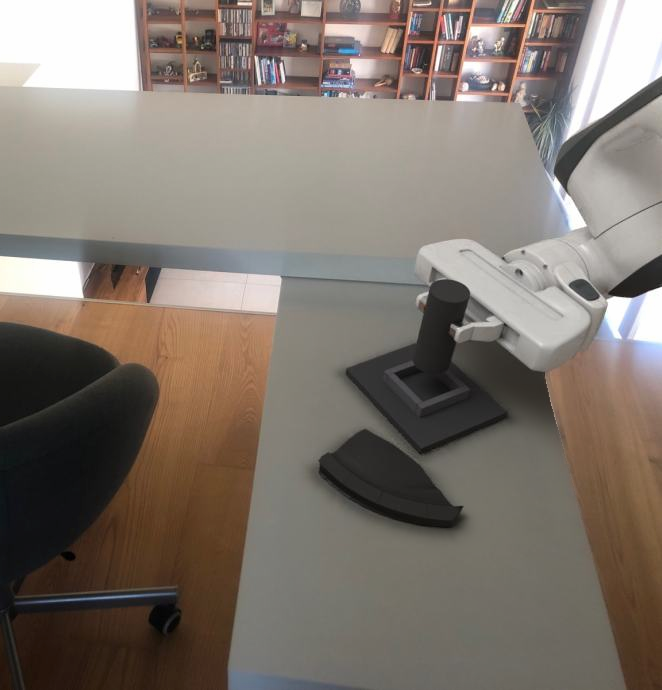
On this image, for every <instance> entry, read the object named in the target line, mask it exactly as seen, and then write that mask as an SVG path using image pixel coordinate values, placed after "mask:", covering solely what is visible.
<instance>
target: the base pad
mask: <svg viewBox="0 0 662 690" xmlns="http://www.w3.org/2000/svg"><path fill="white" fill-rule="evenodd" d="M416 343H417V342H415V343H412V344H409V345H406V346H404V347H401V348H398V349H395V350H393V351H390V352H387V353H384V354H381V355H379V356H376V357H373V358H371V359H368V360H365V361H363V362H359V363H356V364H354V365H352V366H348V367H346V369H345V375H346V376H347V378H349V380H350V381H351V382H352V384H354V385H355V386H356V387H357V388H358V389H359V390H360V392H362V394H363V395H364V396H365V397H366V398H367V399H368V400H369V401H370V402H371V403H372V404H373V405H374V406H375V408H376V409H377V410H378V411H379V413H381V414H382V415H383V416H384V418H386V420H387V421H388V422H389V423H390V424H391V425H392V426H393V427H394V428H395V429H396V430H397V431H398V433H400V435H401V436H402V437H403V438H404V439H405V440H406V441H407V442H408V443H409V444H410V445H411V446H412V448H413V449H414V451H416V452H417V453H418V454H419V455H421V454H424V453H426V452H429V451H430V450H431V451H432V450H433V449H436V448H438V447H440V446H443V445H445V444H447V443H451V442H452V441H454V440H456V439H459V438H462V437H464V436H466V435H469V434H471V433H473V432H475V431H478V430H480V429H482V428H485V427H487V426H490V425H492V424H494V423H497V422H499V421H501V420H503V419H505V418H507V415H508V411H507V409H505V408H504V407H503V406H502V405H501V404H500V403H499V402H498V401H496V400H495V399H494V398H493V397H492V396H491V395H489V393H487V392H486V391H485V390H484V389H483V388H482V387H481V386H480V385H478V384H477V383H476V382H475V381H474V380H473V379H472V378H471V377H469V376H468V375H467V374H466V373H465V372H464V371H463V370H462V369H461V368H459V367H458V366H457V365H456V364H455V363H454V362H453V361H451V363H450V366H449V369H448V370H447V371H446V372H444V373H441V374H428V373H425V372H423V371H421V370H419V369H418V368H417V367H416V366H415V365H414V363H413V355H414V351H415V347H416Z"/></svg>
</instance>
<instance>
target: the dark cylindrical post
mask: <svg viewBox="0 0 662 690" xmlns="http://www.w3.org/2000/svg"><path fill="white" fill-rule="evenodd" d="M428 291H429V293H428V297H427V301H426V306H425V310H424V313H422V320H421V323H420V327H419V331H418V335H417V340H416V342H415V343H416V347H415V351H414V355H413V363H414V365H415V366H416V367H417V368H418V369H419V370H421V371H423V372H425V373H428V374H441V373H444V372H446V371H447V370H448V369H449V366H450V363H451V362H452V360H453V357H454V352H455V349H456V346H457V342H456V341H455V340H454V339H452V338H451V337H450V336H449V335H448V331H450V329H449V328H450V325H451V324H452V323H453V322H459V320H461V319H465V311H466V308H467V304H468V301H469V298H470V290H469V289H468V287H467V286H465V285H464V284H462V283H460V282H458V281H455V280H450V279H441V280H437V281H435V282H433V283H432V284H431V286H430V287H429V289H428Z"/></svg>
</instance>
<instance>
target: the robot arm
mask: <svg viewBox="0 0 662 690" xmlns="http://www.w3.org/2000/svg"><path fill="white" fill-rule="evenodd" d="M553 175H554V177H555V178H556V180H557V181H558V182H559V184H560V186H561V187H562V188H563V190H564V191H565V193H566V194H567V195H568V197H570V199H571V201H572V202H573V204H574V206H575V208H576V209H577V211H578V213H579V214H580V216H581V219H582V220H583V221H584V223H585V225H586V226H582V227H579V228H575V229H573V230H570V231H568V232H566V233H564V234H563V235H562V236H560V237H552V238H547V239H542V240H539V241H536V242H533V243H531V244H528V245H524V246H521V247H517V248H516V249H513V250H510V251H508V252H507V253H505V254H504V255H503V256H499V255H498V254H496V253H494V252H492V251H491V250H489V249H488V247H486V246H485V245H484V244H481V243H479V242H477V241H475V240H473V239H470V238H456V239H449V240H443V241H437V242H433V243H429V244H425V245H423V246H421V247H420V249H419V250H418V252H417V256H416V259H415V263H414V269H413V273H414V275H415V277H417V278H418V279H419V280H420V281H422V282H423V283H424V284H425V285H426V286H428V287H429V288H430V286H431V284H432V283H433V282H435V281H437V280H441V279H450V280H455V281H458V282H460V283H462V284H464V285H465V286H467V287H468V289H469V290H470V298H469V301H468V304H467V308H466V311H465V315H464V317H466V318H467V319H468V320H469V321H468V320H467V319H465V318H463V319H461V320H459V322H453V323H452V324H451V325H450V328H449V329H450V331H448V335H449V336H450V337H451V338H452V339H454V340H455V341H456V344H461V343H464V342H467V341H474V342H475V341H476V342H485V343H486V342H487V343H491V342H494V341H495V342H496V343H497V344H499V345H500V346H501V347H503V348H504V349H505V350H506V351H508V352H509V353H510V355H512V356H514V357H515V358H516V359H517V360H519V362H521V363H522V364H523V365H525V366H526V367H527V368H528V369H530V370H531V371H534V372H539V373H541V372H542V373H548V372H551V371H554V370H556V369H558V368H560V367H563V366H564V365H566V364H568V363H569V362H570V361H572V360H574V359H575V357H576V356H577V354H579V353H583V352H585V351H587V350H588V349H589V348H590V346H591V345H592V343H593V341H594V340H595V339H596V336H597V334H598V332H599V330H600V328H601V326H602V324H603V321H604V318H605V316H606V313H607V309H608V306H609V302H608V300H610V299H612V298H614V297H615V298H623V299H624V298H625V299H634V298H637V297H639V296H642V295H645V294H647V293H648V292H652V291H654V290H657V289H660V288H662V75H661V76H659V77H658V78H656V79H654V80H653V81H651V82H650V83H648V84H647V85H645V86H644V87H642V88H641V89H639V90H638V91H637V92H634V94H632V95H631V96H629V97H628V98H627V99H626V100H624V101H623V102H622V103H620V104H618V105H617V106H616V107H615V108H613V109H612V110H610V111H609V112H608V113H606V114H605V115H604V116H602V117H600V118H598V119H595V120H594V121H591V122H589V123H587V124H586V125H584V126H583V127H581V128H580V129H578V130H576V132H574V133H573V134H572V135H571V136H569V137H568V139H567V140H565V141H564V142H563V143H562V144H561V146H560V148H559V150H558V153H557V156H556V159H555V162H554V167H553ZM428 293H429V290H428V291H426V292H423V293H420V294H418V296H417V297H416V299H415V303H414V307H415V308H416V309H418V311H420V312H421V313H422V314H424V310H425V306H426V301H427V297H428Z"/></svg>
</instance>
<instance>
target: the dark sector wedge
mask: <svg viewBox="0 0 662 690" xmlns="http://www.w3.org/2000/svg"><path fill="white" fill-rule="evenodd" d="M318 463H319V468H318V474H319V475H320V476H321V478H322V479H324V480H325V481H326V482H327V483H328V484H329V485H331V486H332V487H333V488H334V489H335V490H336V491H338V492H339V493H341V494H342V495H343V496H345V497H346V498H347V499H349V500H351V501H352V502H354V503H355V504H358V505H359V506H361V507H363V508H365V509H367V510H369V511H372V512H374V513H376V514H379V515H381V516H385V517H387V518H391V519H393V520H396V521H401V522H405V523H410V524H415V525H419V526H420V525H421V526H430V527H445V528H448V527H449V528H451V527H453V526H455V525H456V524H457V523H458V520H459V516H460V515H461V512H462V510H463V508H464V507H465V506H464V505H453V504H452V503H451V502H450V501H449V500H448V499H447V497H446V496H445V495H444V494H443V493H442V491H441V489H439V487H437V486H436V485H435V484H434V482H433V481H432V479H431V478H430V477H429V475H428V474H427V473H426V471H425V470H424V468H423V467H422V466H421V465H420V463H418V462H417V461H416V460H415V459H413V458H412V457H411V456H410V455H408V454H407V453H406V452H405V451H403V450H401V448H399V447H398V446H396V445H395V444H393V443H392V442H390V441H388V440H387V439H385V438H382V436H379V435H377V434H375V433H373V432H372V431H370V430H369V429H367V428H364V429H362V430H359V431H358V432H356V433H355V434H353V435H352V436H351V437H349V438H348V439H347V440H346V441H344V443H342V445H340V447H339V448H337V449H336V450H335V451H333V452H329V451H328V452H327V453H325V454H323V455H321V457H319V459H318Z"/></svg>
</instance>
